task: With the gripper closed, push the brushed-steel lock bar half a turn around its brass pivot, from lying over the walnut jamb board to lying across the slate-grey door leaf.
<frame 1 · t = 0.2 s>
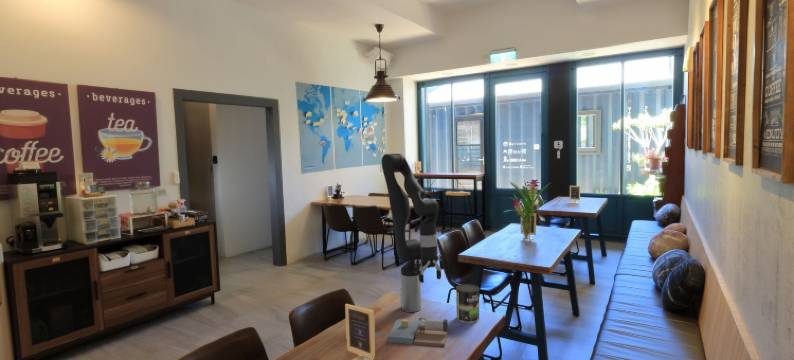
hand: (430, 280, 185), 18 cm above the table, tool pointing down, fingers open, 8 cm apart
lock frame: (422, 335, 173), on the table
coffee can: (467, 318, 187), on the table
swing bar: (432, 324, 171), point 5 cm above the table, hinge at 0.0°
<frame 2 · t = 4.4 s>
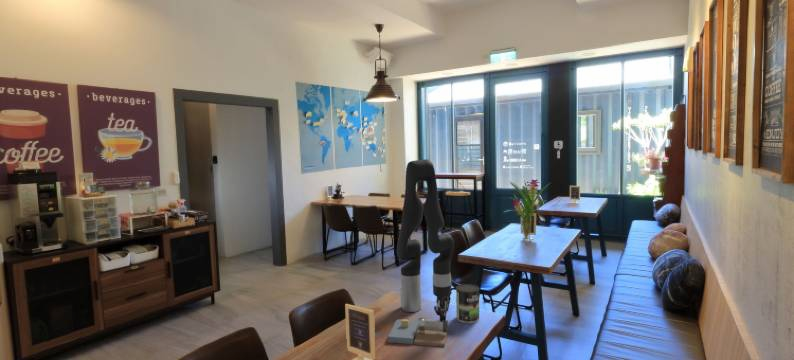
hand: (442, 323, 173), 4 cm above the table, tool pointing down, fingers closed
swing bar: (432, 325, 171), point 5 cm above the table, hinge at 3.6°, touching gripper
everything else where it was.
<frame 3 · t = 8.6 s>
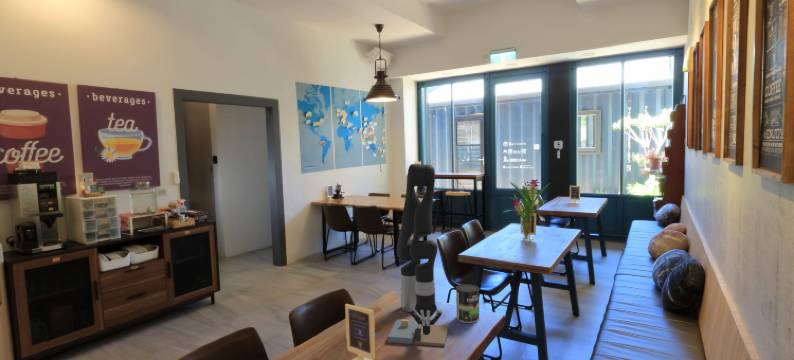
hand: (426, 334, 164), 4 cm above the table, tool pointing down, fingers closed
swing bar: (420, 328, 168), point 5 cm above the table, hinge at 90.1°, touching gripper
everything else where it was.
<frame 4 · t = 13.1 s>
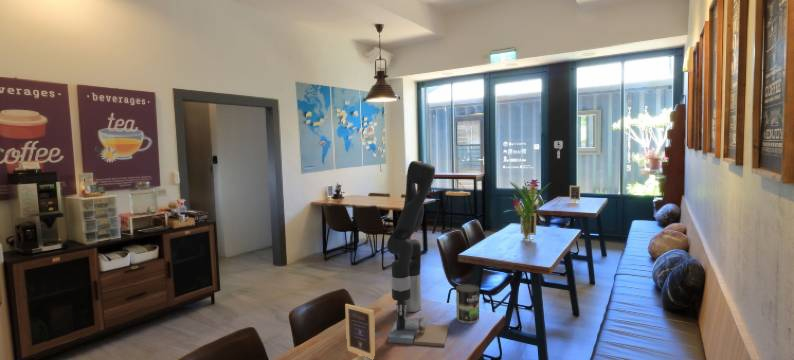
hand: (402, 328, 169), 4 cm above the table, tool pointing down, fingers closed
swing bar: (411, 323, 173), point 5 cm above the table, hinge at 173.7°
everything else where it was.
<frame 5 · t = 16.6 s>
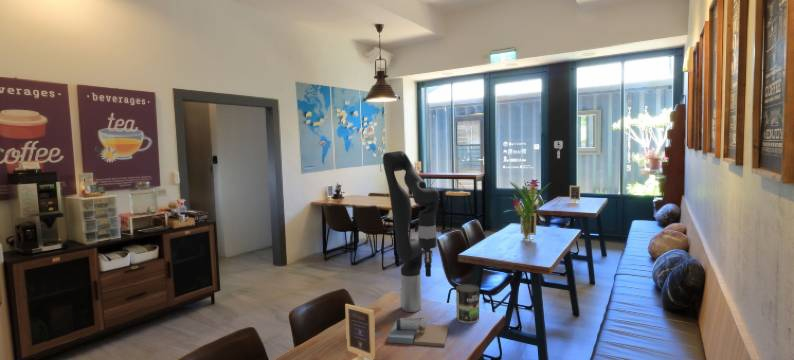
hand: (428, 276, 176), 23 cm above the table, tool pointing down, fingers closed
nothing on the table moved.
at the end: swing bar at +174° (first picture: +0°); coffee can moved 0.2 cm from its start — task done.
